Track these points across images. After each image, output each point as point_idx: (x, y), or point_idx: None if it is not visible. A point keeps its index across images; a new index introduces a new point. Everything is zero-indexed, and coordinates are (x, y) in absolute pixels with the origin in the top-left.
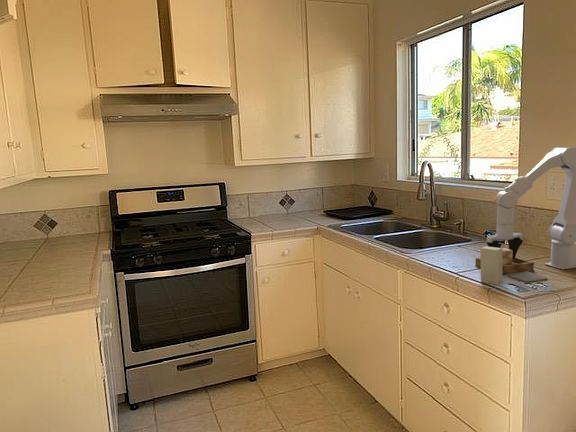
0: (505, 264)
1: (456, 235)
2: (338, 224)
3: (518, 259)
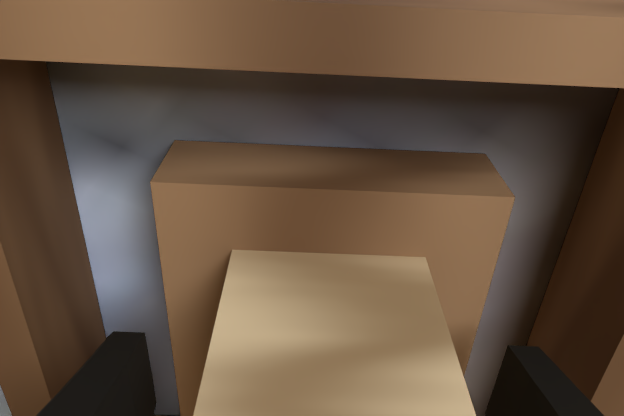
0: None
1: None
2: None
3: (588, 384)
